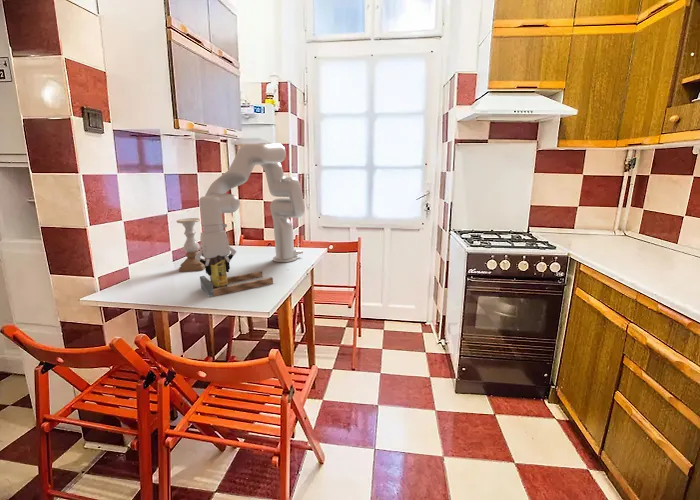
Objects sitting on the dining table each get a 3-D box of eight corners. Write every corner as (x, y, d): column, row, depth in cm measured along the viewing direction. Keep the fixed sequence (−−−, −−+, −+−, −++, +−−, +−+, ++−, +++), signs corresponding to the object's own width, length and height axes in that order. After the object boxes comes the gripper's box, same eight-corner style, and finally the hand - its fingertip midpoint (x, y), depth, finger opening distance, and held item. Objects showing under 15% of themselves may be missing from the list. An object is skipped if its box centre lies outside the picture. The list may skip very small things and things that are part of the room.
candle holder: (208, 264, 185) (203, 217, 180) (202, 270, 174) (196, 220, 169) (186, 265, 184) (179, 218, 178) (178, 271, 173) (172, 221, 168)
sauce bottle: (222, 291, 143) (216, 242, 138) (208, 291, 144) (201, 241, 140) (231, 286, 149) (225, 238, 145) (217, 285, 151) (211, 238, 146)
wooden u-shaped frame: (261, 276, 163) (260, 265, 162) (273, 283, 152) (272, 272, 151) (201, 288, 149) (199, 276, 148) (209, 297, 138) (208, 284, 137)
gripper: (232, 224, 149) (236, 267, 153) (187, 229, 139) (193, 275, 144) (238, 226, 143) (242, 271, 147) (191, 232, 133) (197, 279, 138)
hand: (218, 272), depth 145 cm, fingers closed on sauce bottle, 6 cm apart
